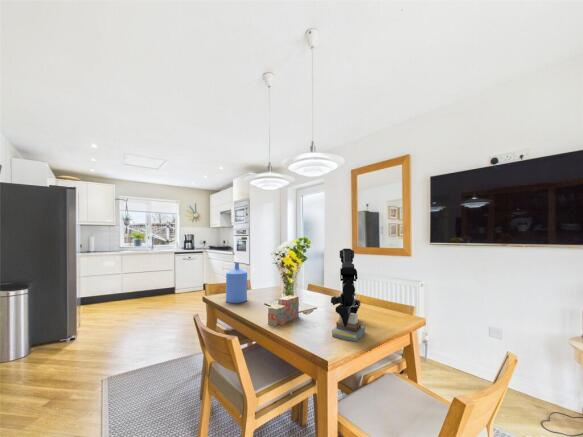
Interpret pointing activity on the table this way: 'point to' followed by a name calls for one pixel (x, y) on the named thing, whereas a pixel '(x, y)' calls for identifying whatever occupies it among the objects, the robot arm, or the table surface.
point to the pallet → (348, 326)
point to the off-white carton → (353, 318)
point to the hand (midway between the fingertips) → (348, 323)
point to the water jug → (236, 285)
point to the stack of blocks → (283, 310)
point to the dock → (348, 334)
